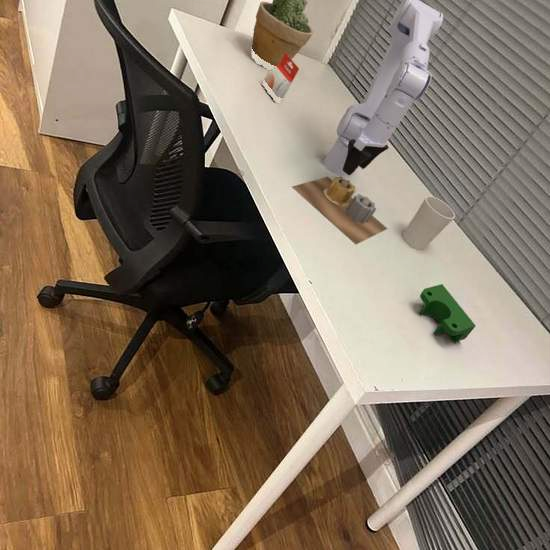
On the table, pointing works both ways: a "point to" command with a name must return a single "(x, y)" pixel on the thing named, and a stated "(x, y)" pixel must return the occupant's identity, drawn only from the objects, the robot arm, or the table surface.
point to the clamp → (446, 313)
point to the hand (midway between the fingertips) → (353, 169)
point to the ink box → (281, 76)
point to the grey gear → (360, 209)
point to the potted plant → (280, 30)
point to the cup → (427, 223)
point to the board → (338, 210)
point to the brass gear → (340, 191)
